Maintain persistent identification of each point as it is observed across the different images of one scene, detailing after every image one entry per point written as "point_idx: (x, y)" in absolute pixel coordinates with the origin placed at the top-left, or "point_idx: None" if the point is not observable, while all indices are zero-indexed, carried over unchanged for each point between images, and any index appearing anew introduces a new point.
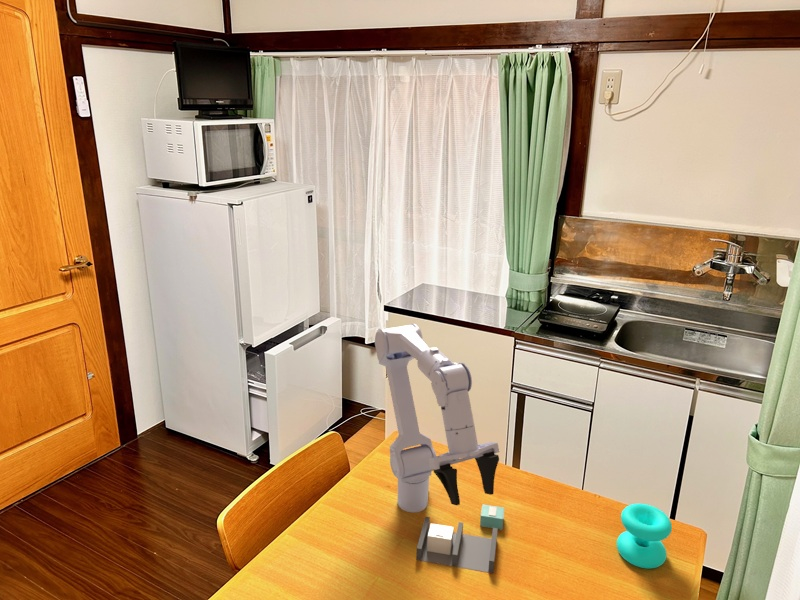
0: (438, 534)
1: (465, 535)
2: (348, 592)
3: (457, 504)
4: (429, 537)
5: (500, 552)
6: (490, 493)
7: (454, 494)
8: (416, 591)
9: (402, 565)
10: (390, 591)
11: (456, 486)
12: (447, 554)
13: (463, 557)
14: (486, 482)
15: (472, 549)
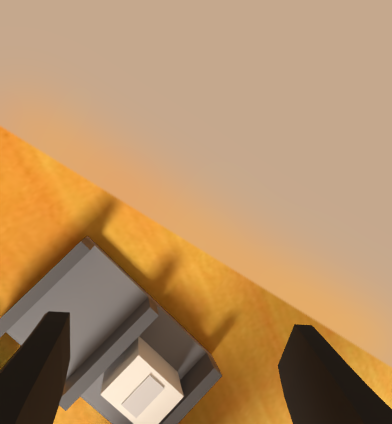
0: (157, 386)
1: None
2: (360, 350)
3: (311, 327)
4: (179, 390)
5: (14, 288)
6: (67, 319)
7: (358, 376)
8: (253, 288)
9: (238, 363)
10: (295, 313)
11: (371, 420)
12: (142, 339)
13: (115, 313)
14: (45, 404)
15: (77, 324)
